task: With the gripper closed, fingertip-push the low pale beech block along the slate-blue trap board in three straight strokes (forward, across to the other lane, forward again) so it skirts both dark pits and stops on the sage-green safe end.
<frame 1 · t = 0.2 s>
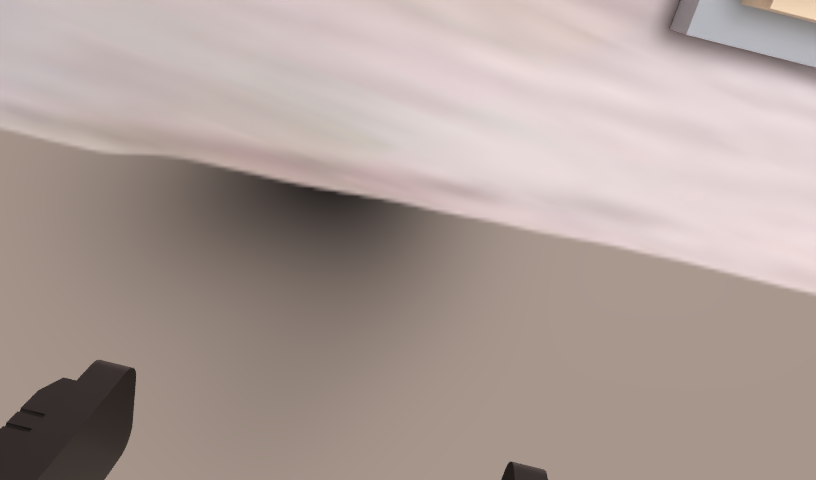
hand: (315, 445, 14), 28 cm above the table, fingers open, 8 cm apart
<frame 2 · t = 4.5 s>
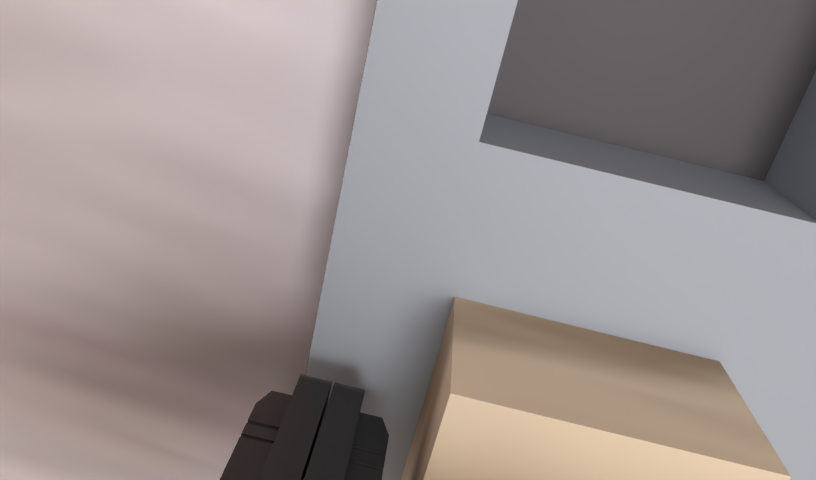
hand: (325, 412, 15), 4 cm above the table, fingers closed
beech block: (545, 434, 16), point 3 cm above the table, touching gripper
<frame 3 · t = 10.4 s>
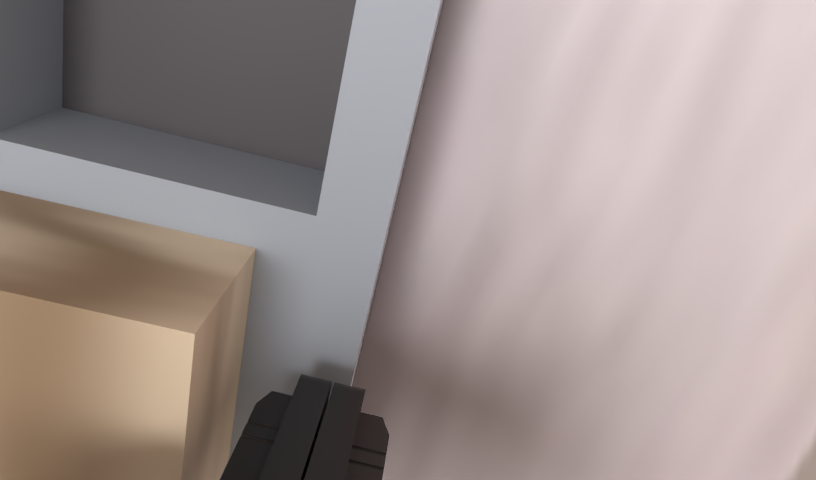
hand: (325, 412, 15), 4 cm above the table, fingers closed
beech block: (115, 333, 15), point 3 cm above the table, touching gripper, trap board
trap board: (8, 148, 17), on the table
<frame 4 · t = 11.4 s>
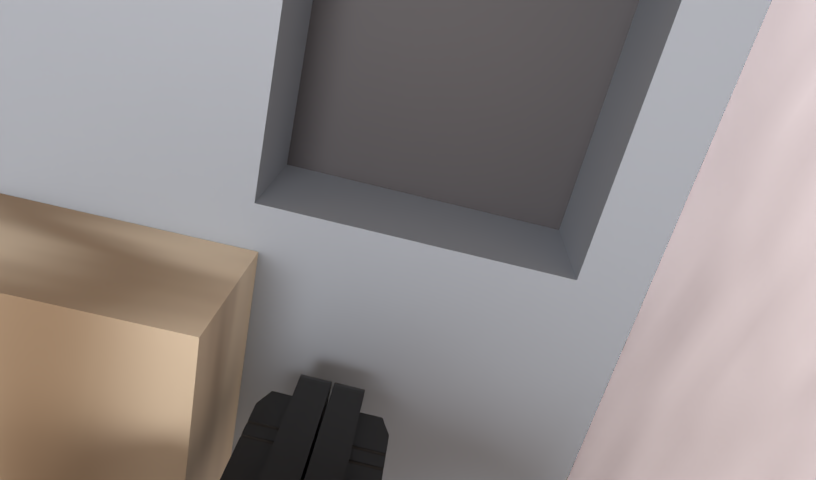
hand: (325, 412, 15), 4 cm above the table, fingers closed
beech block: (117, 336, 15), point 3 cm above the table, touching gripper
trap board: (224, 202, 17), on the table
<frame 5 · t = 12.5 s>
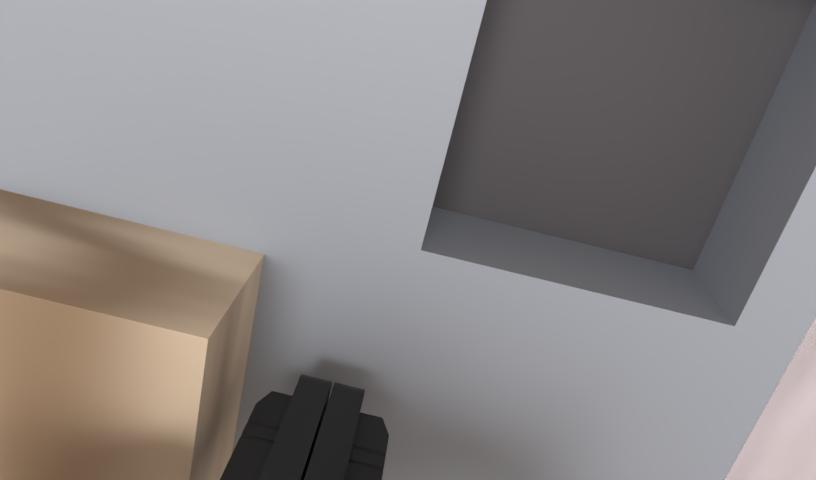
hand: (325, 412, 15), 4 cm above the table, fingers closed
beech block: (121, 335, 16), point 3 cm above the table, touching gripper, trap board
trap board: (358, 240, 17), on the table
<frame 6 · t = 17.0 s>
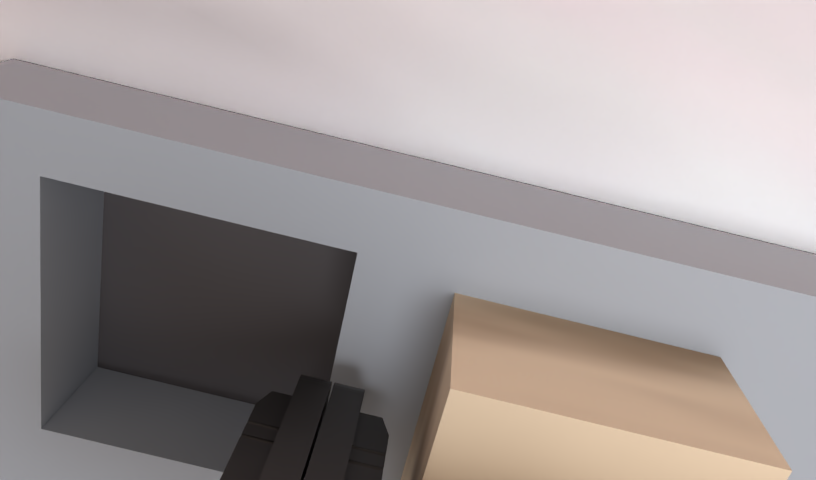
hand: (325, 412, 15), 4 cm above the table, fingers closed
beech block: (546, 431, 16), point 3 cm above the table, touching gripper, trap board
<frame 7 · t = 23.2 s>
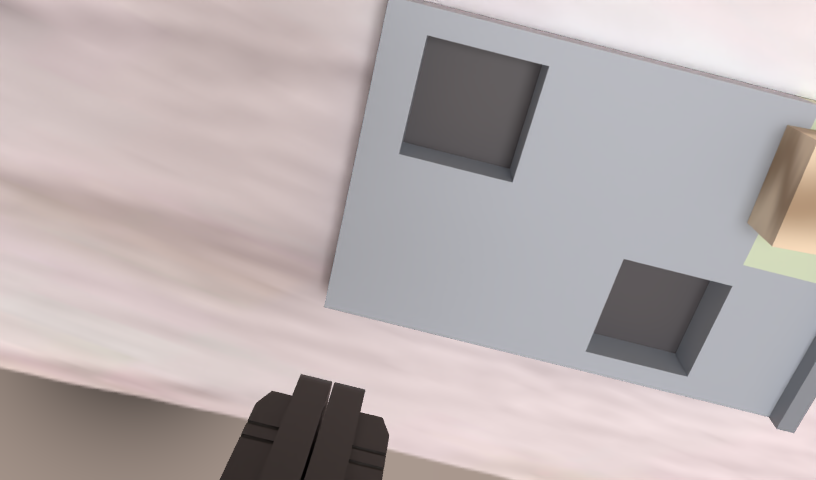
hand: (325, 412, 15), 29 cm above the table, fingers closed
trap board: (599, 213, 43), on the table
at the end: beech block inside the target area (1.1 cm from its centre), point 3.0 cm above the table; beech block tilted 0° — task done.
